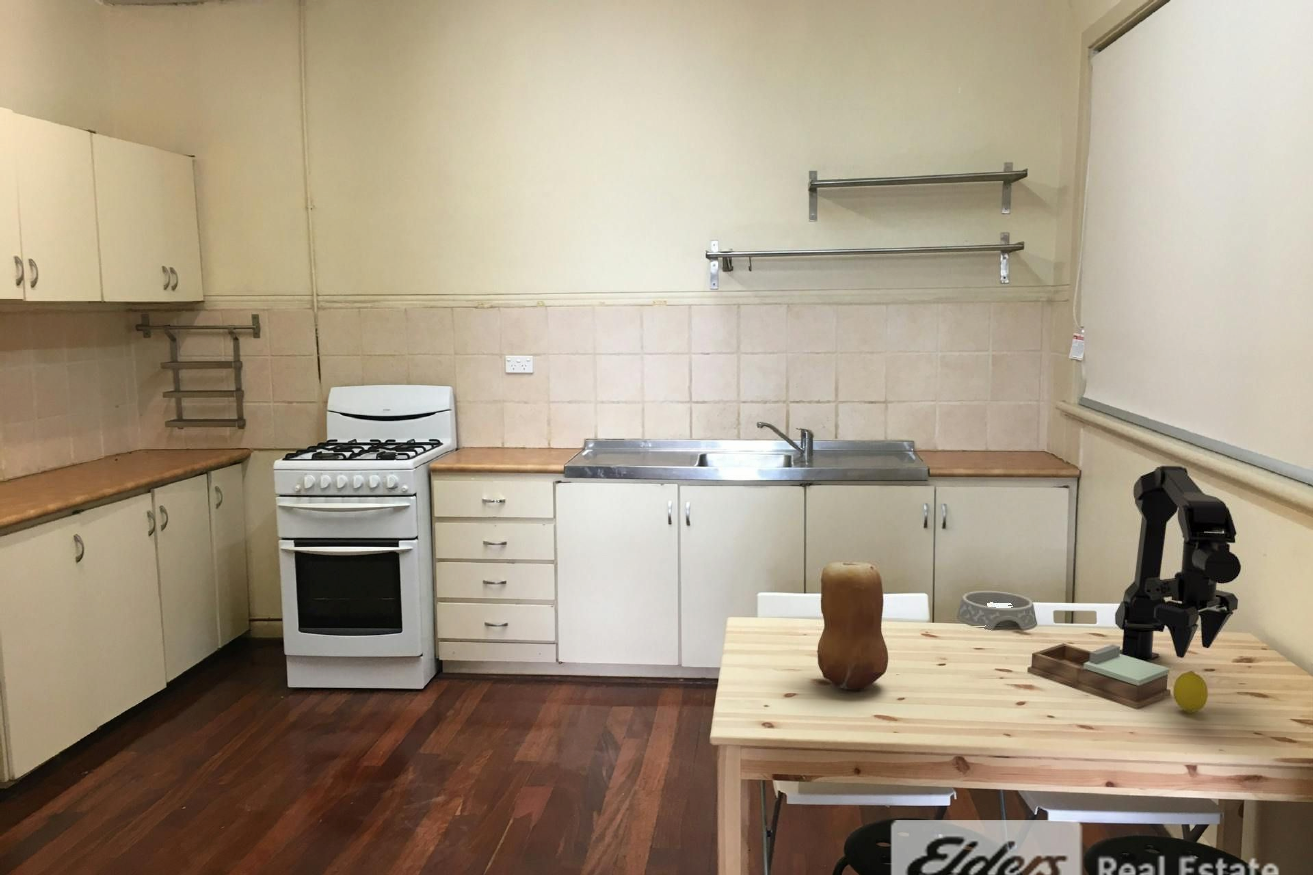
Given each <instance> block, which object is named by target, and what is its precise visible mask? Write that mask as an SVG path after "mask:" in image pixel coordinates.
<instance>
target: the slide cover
mask: <svg viewBox="0 0 1313 875" xmlns="http://www.w3.org/2000/svg"><path fill="white" fill-rule="evenodd" d="M1120 650H1121V646H1119V645H1115V644H1111V645H1107V646H1105V647H1102V648H1099V649H1095V650H1092V651H1091V652H1090V661H1089V662H1086V663H1084V669H1087V670H1090V671H1094V672H1097V673H1100V674H1103V675H1106V676H1109V677H1113V678H1116V679H1119V680H1122V681H1125V682H1128V683H1132V684H1135V685H1138V686H1139V685H1142V684H1144V683H1147V682H1149V681H1152V680H1154V679H1157V678H1160V677H1162V676H1165V675H1169V674H1171V673H1170V672H1171V670H1170V669H1171V668H1170V667H1169V668H1168V667H1166V666H1163V665H1159V664H1156V663H1152V662H1150V661H1142V660H1139V659H1136V658H1132V657H1129V656H1125V655H1122V654H1120Z"/></svg>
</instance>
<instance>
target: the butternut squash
mask: <svg viewBox="0 0 1313 875" xmlns="http://www.w3.org/2000/svg"><path fill="white" fill-rule="evenodd" d="M820 584H821V586H820V589H821V590H820V609H821V614H822V618H823V630H822V632H821V635H820V637H819V640H818V644H817V650H816V651H817V665H818V668H819V670H820V671H821V674H822V677H823V678H824V679H826V680H829V681H830V682H831V683H832V684H833V686H835V687H837V688H841V689H844V690H849V691H856V692H861V691H863V690H865V689H867V688H868V687H870V686H872V684H874V683H875V682H877V681H878V679H880V678H881V677H882V676H884V675H885V673H886V671H887V670H888V664H889V653H888V647H887V644H886V642H885V638H884V635H883V632H882V622H883V621H882V620H883V614H884V613H883V612H884V611H883V610H884V590H883V582H882V578H881V575H880V573H879V570H878V569H877V568H876V567H875V566H874V565H873V564H871V563H869V562H861V561H860V562H859V561H857V562H854V561H853V562H842V561H836V562H831V563H829V564H826V565H825V566H824V567H823V569H822V573H821V577H820Z"/></svg>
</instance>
